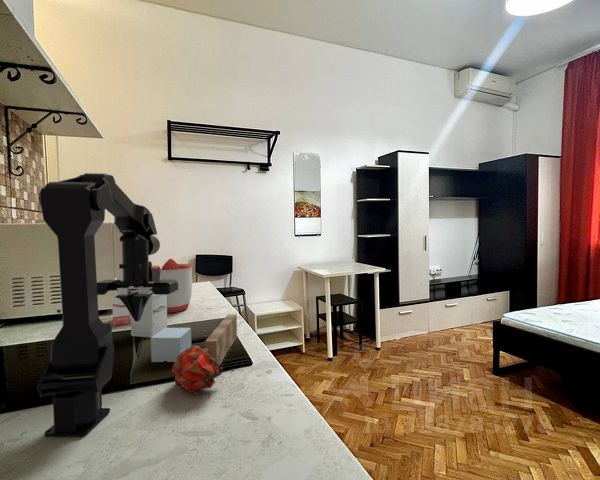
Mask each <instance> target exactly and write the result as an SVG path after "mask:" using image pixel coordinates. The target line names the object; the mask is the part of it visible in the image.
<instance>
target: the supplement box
mask: <svg viewBox="0 0 600 480" xmlns="http://www.w3.org/2000/svg"><path fill="white" fill-rule="evenodd" d="M164 328H168V313H167V295H155V294H153V295H151V296H150V297H149V299H148V301H147V303H146V305H145V308H144V311H143V314H142V317H141V320H140V321H134V319H133V317H132V316H131V320H130V336H131V337H141V338H143V337H144V338H151V337H153V336H154V335H155V334H157V333H158V332H159V331H161V330H162V329H164Z"/></svg>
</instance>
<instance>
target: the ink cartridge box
mask: <svg viewBox="0 0 600 480" xmlns="http://www.w3.org/2000/svg"><path fill="white" fill-rule="evenodd" d="M113 280H118V279H117V277H115V278H114V279H113ZM117 295H118V291H111V297H112V298H111V299H112V301H111V302H112V303H111V305H112V325H113V326H120V325H121V326H122V325H129V324H131V314H130V312H129V311H128V309H127V308H126V306H125V305H124V304H123V302H122V301H121V300H120V299H119V298H116V296H117Z"/></svg>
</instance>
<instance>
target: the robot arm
mask: <svg viewBox="0 0 600 480" xmlns="http://www.w3.org/2000/svg"><path fill="white" fill-rule="evenodd" d="M38 203H39V205H40V208H41V209H40V210H41V214H42V219H43V221H44V223H45V224H46V225H47V226H48V227H49V229H50V230H51V232H53V234H54V235H55V236H56V238H57V252H58V264H59V265H58V266H59V281H60V293H61V295H60V296H61V297H60V298H61V300H60V301H61V311H62V313H61V314H62V327H61V328H60V329H59V331H58V332H57V334H56V336H55V338H54V339H53V341H52V343H51V346H50V347H51V351H50V356H49V358H48V360H47V363H46V365H45V366H44V370H43V371H42V373H41V376H40V378H39V380H38V383H37V384H36V391H37V393H38V395H39V397H46V396H52V407H53V408H52V410H53V413H52V414H53V424H52V426H51V427H49V428H48V429H46V430H45V431H44V436H45V437H85V436H86V435H87V434H88V433H90V431H92V429H93V428H94V427H96V426H97V425H98V424H99V423H100V422H101V421H102V420H103V419H104V418H105V417H106V416H107V415H108V414H110V413H111V408H109V407H103V402H102V400H103V399H102V389H103V388H104V387H105V385H106V384H107V383H109V381H110V380H111V379H112V377H113V368H114V361H115V346H114V342H113V327H112V326H111V323H109V322H107V323H104V322H103V321H102V320H101V319H100V317H99V316H100V315H99V301H98V296H103V295H104V296H105V295H106V294H107V293H109V291H111V292H112V291H118V295H117V296H116V298H119V299H120V300H121V301H122V302H123V304H124V305H125V306H126V308H127V309H128V311H129V312H130V314H131V316H132V317H133V319H134V321H140V320H141V317H142V314H143V311H144V308H145V305H146V303H147V301H148V299H149V297H150V296H151V295H153V294H155V295H167V294H171V293H173V292H175V291H176V290H178V282H177V281H176V280H175V279H162V280H160V273H161V271H160V270H158V269H155V268H152V266H153V264H152V261H149V256H152V255H154V254H156V253H158V252H159V250H160V248H161V243H160V241H159V238H158V237H156V236H157V235H158V231H157V228H156V227H157V226H156V223H155V220H154V216H153V213H152V212H151V210H149V209H148V208H147V206H144V205H143V204H142V205H141V204H137V203H134V202H133V201H132V199H130V197H128V195H127V194H126V193H125V192H124V191H123V190H122V189H121V187H120V186H119V185H118V184H117V183H116V179H115V178H114V176H113V175H112V174H108V173H98V172H97V173H96V172H95V173H93V172H92V173H90V172H89V173H87V172H85V173H83V174H80V175H78V176H75V177H72V178H68V179H63V180H59V181H50V182H48V183H46V184H45V186H44V188H41V189H40V191H39V194H38ZM106 211H107V212H108V213H109V214H111V215H112V216H113V217H114V219H113V220H114V223H113V224H114V225H115V226H116V227H117V229H118V231H119V232H120V233H121V236H120V238H119V239H118V240H119V242H121V255H122V261H121V262H122V263H120V264H119V263H118V265H119V266H118V267H119V269H120V270H121V269H122V280H121V279H117V280H114V279H104V280H100V281H98V280H97V261H96V260H97V259H96V244H95V241H96V240H95V235H96V234H97V233H98V230H99V229H100V227H101V226H102V224H103V223H104V222H105V218H106ZM155 235H156V236H155ZM150 282H154V283H150ZM85 374H94V375H85ZM71 375H82V376H71ZM83 375H84V376H83ZM64 376H69V377H64ZM70 376H71V377H70Z"/></svg>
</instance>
